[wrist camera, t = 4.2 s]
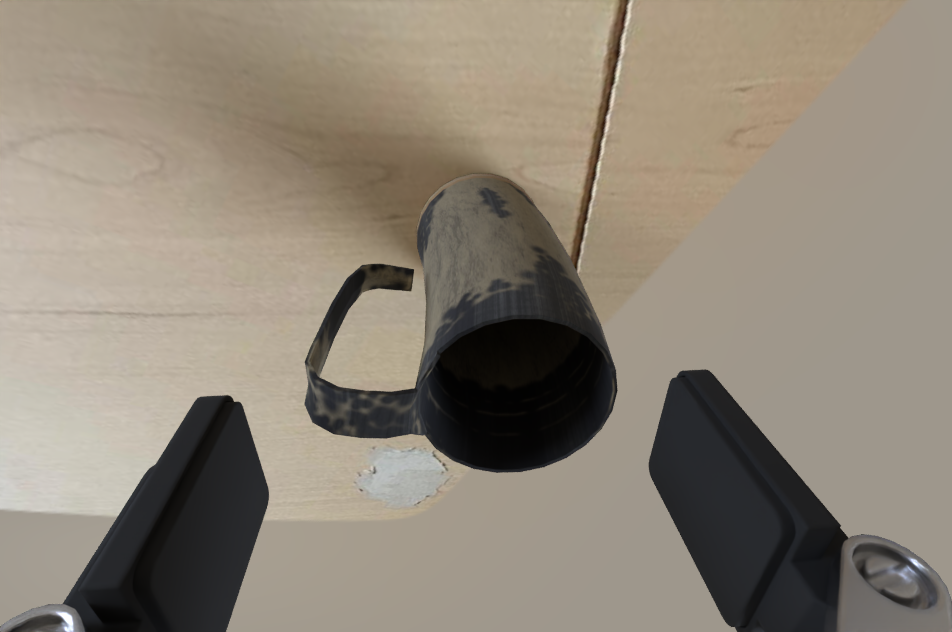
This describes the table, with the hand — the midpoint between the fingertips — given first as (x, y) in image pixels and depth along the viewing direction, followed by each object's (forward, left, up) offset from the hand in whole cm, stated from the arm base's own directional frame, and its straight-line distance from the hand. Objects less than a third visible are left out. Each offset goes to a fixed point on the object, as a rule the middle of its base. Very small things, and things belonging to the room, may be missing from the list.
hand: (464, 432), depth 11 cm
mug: (0, 0, -12) cm, 12 cm away
